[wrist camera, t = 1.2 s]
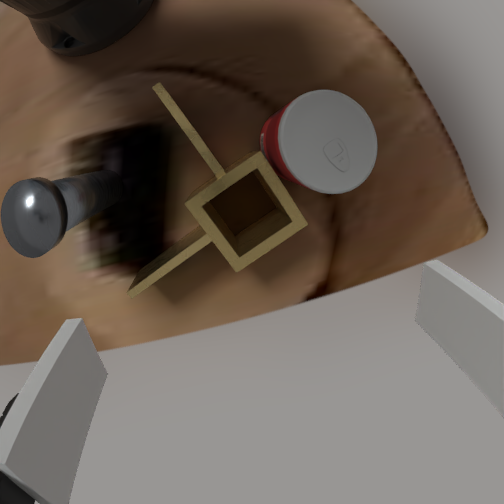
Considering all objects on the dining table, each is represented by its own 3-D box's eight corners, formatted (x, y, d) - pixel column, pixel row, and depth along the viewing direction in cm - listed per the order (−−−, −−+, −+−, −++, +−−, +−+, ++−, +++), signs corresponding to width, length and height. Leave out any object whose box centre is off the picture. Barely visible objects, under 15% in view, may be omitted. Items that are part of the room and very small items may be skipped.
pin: (78, 185, 29) (-9, 214, 14) (110, 155, 28) (29, 163, 14) (103, 219, 30) (29, 272, 16) (135, 191, 30) (71, 226, 15)
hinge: (71, 178, 28) (39, 185, 22) (197, 76, 27) (191, 56, 20) (162, 296, 34) (152, 328, 27) (289, 209, 32) (308, 224, 26)
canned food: (298, 195, 32) (337, 216, 22) (242, 147, 30) (255, 142, 19) (342, 144, 31) (396, 143, 20) (288, 95, 28) (324, 68, 18)
